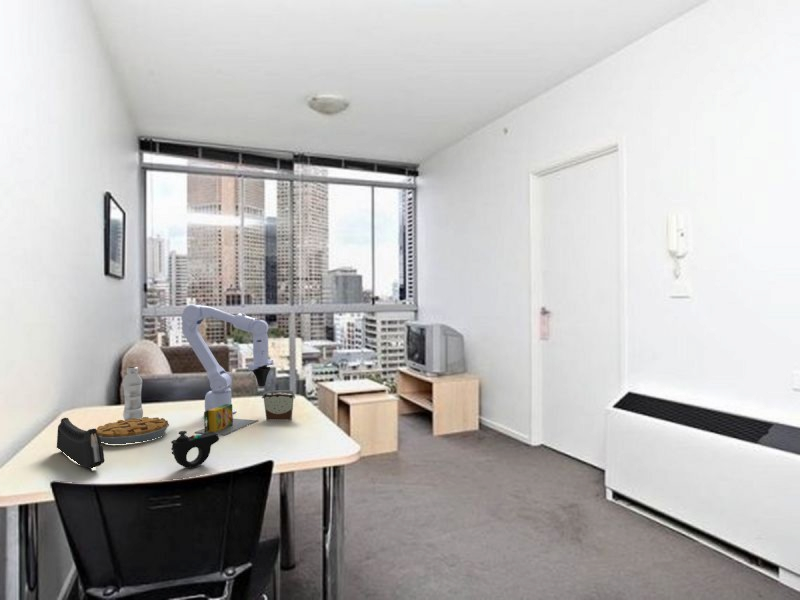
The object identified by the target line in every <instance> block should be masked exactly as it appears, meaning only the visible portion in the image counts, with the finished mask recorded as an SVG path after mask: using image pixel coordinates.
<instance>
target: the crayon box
mask: <svg viewBox="0 0 800 600" xmlns="http://www.w3.org/2000/svg"><path fill="white" fill-rule="evenodd" d="M232 411H233V404H225V405H222V406H219V407H216V408H213V409H210V410H208V411H205V410H204V411H203V417H204V419H203V421H204V425H203V426H204V427H203V429H204V433H206V432H217V431H219V430H222V429H224V428H226V427H229V426H231V425H233V419H234V417H233V414H234V413H233V412H232Z"/></svg>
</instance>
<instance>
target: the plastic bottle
mask: <svg viewBox="0 0 800 600" xmlns="http://www.w3.org/2000/svg"><path fill="white" fill-rule="evenodd" d="M125 372H126V375H125V376H124V378H123V381H122V387H123V393H124V406H123V408H124V409H123V413H122V417H123V420H124V421H125V420H129V419H133V418H135V419H142V418H143V417H144V409H143V405H142V388H143V379H142V377H141V376H140V375H139V368H138V366H129V367H128V366H127V367H126V371H125Z"/></svg>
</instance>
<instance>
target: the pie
mask: <svg viewBox="0 0 800 600" xmlns="http://www.w3.org/2000/svg"><path fill="white" fill-rule="evenodd" d="M169 426H170V424H169V421H168V420H166V419H165V418H164V417H161V418H159V417H148V416H145V417H144V416H143V417H142V419H135V418H133V419H129V420H124V419H119V420H117V421H116V422H108V423H106V424H104V425H99V426H98V427H97V428H96V431H97V434H98V436H99V437H100V439H101V442H104V443H108V444H126V443H135V442H143V441H147V440H151V441H153V440H152V439H155V438H157V439H159V438H158V437H160V438H162V437H163V436H164V435H165V433H166V431H167V428H169ZM163 434H164V435H163ZM161 436H162V437H161ZM155 440H156V439H155ZM147 442H148V441H147ZM143 443H144V442H143Z"/></svg>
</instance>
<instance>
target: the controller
mask: <svg viewBox="0 0 800 600" xmlns="http://www.w3.org/2000/svg"><path fill="white" fill-rule="evenodd" d="M187 433H188V432H187V430H181V431H179V432H178V433H177V434H178V435H179V436H178V437H177V438H176V439H173V440H172V441H170V443H171V444H172V445H171V448H170V449H171V454H172V456H173V457H174V460H175V461H176V463H177V464H178V465H180V466H181V467H183V468H188V469H194V468H197V467H199V466H201V465H203V463H205V462H206V461H207V459H208V458H209V457H210V453H211V449H212V448H211V447H212V446H213V445H214V444H216V443H218V442H219V440H220V438H219V435H217V434H216V433H214V432H211V433H206V434H197V435H193V434H192V435H191V436H187V435H186V434H187ZM194 448H196V449H198V454H197V456H196V458H195V459H194V460H191V461H189V460H188V459H187V457H188V456H187V455H188V453H189V452H190V451H191V450H192V449H194Z"/></svg>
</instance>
